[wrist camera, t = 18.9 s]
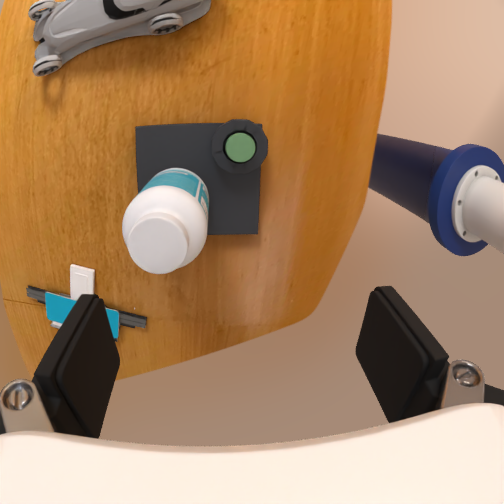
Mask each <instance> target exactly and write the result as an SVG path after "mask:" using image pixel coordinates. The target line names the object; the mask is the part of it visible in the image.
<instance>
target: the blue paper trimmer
mask: <svg viewBox="0 0 504 504" xmlns="http://www.w3.org/2000/svg"><path fill="white" fill-rule="evenodd" d="M94 277H95V270H94V269H90V268H86V267H82V266H78V265H74V264H72V265H71V266H70V293H71V296H69V295H66V294H62V293H60V295H59V294H56V293H52V292H49V291H45V290H42V289H39V288H34V287H31V286H28V288H26V289H27V292H29V293H27V296H28V297H31V298H34V299H37V300H38V302H40V303H43V304H46V312H47V318H48V319H49V320H52V324H51V325H50V326H52V327H56V328H59V329H60V327H61V325H62V324H63V322H64V320H65V319H66V317H67V315H68V314H69V312H70V311H71V309H72V307H73V306H74V304H75V303H76V301H77V300H78V298H79V297H80V295H81V294H94ZM105 308H106V312H107V316H108V319H109V323H110V327H111V330H112V334H113V337H114V340H115V341H116V342H117V341H118V331H119V329H120V325H123V326H127V327H131V328H135V326H137V327H142V328H145V325H146V319H147V317H144V316H139V315H136V314H132V313H128V312H124V311H120V310H115V309H111V308H107V307H106V305H105ZM134 309H135V308H134Z"/></svg>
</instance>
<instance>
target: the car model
mask: <svg viewBox="0 0 504 504" xmlns="http://www.w3.org/2000/svg"><path fill="white" fill-rule="evenodd" d="M210 4H211V0H66V1H65V2H55V0H40V1H38V2H36V3H34V4H33V5H32V6H31V7H30V9H29V13H28V15H29V17H30V18H31V20H34V21H36V23H35V28H34V34H33V38H34V41H40V44H39V46H38V47H37V49H36V51H35V58H36V60H37V61H36V62H35V63H34V65H33V73H34V74H35V76H44V75H47V74H50V73H52V72H55V71H57V70H58V69H59V68H60V67H61V66H62V65H63V64H65V63H66V62H67V61H68V60H70V59H71V58H73V57H75V56H76V55H78V54H80V53H82V52H84V51H86V50H88V49H91V48H93V47H96V46H99V45H101V44H105V43H108V42H111V41H115V40H118V39H122V38H126V37H131V36H140V35H163V34H168V33H172V32H174V31H176V30H178V29H180V28H181V27H183V26H184V25H186V24H188V23H190V22H192V21H194V20H196V19H198V18H200V17H202V16H203V15H205V14H206V13H207V12H208V11H209V8H210ZM43 8H46V9H44V10H41V9H43ZM38 10H41V11H38Z"/></svg>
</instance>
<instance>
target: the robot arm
mask: <svg viewBox="0 0 504 504" xmlns="http://www.w3.org/2000/svg"><path fill="white" fill-rule="evenodd" d="M451 213H452V222H453V226H454V229H455V231H456V233H457V234H458V235H459V236H460V237H461V238H462V239H464V240H466V241H468V242H477V241H480V240H483V241H485V242H486V243H488V244H490V245H491V246H493V247H494V248H496V249H497V250H499V251H500V252H502V253H503V254H504V183H503V182H501V180H500V177H499V175H498V174H497V173H496V171H495V170H493V169H492V168H490V167H488V166H484V165H477V166H475V167H472V168H471V169H470V170H468V171H467V172H466V173H465V174H464V175H463V177H462V178H461V180H460V181H459V183H458V185H457V187H456V190H455V193H454V197H453V201H452V209H451ZM356 356H357V358H358V360H359V362H360V364H361V366H362V368H363V370H364V372H365V375H366V377H367V379H368V381H369V383H370V385H371V387H372V389H373V391H374V393H375V395H376V397H377V399H378V401H379V403H380V405H381V407H382V410H383V412H384V414H385V416H386V418H387V420H388V422H389V423H388V424H384V425H380V426H376V427H371V428H367V429H363V430H358V431H353V432H348V433H343V434H337V435H331V436H326V437H319V438H312V439H305V440H298V441H289V442H280V443H269V444H256V445H239V446H169V445H152V444H140V443H130V442H120V441H111V440H103V439H98V438H99V436H100V432H101V428H102V425H103V421H104V417H105V413H106V410H107V406H108V403H109V399H110V396H111V392H112V389H113V385H114V382H115V379H116V375H117V372H118V369H119V366H120V357H119V353H118V350H117V347H116V344H115V340H114V337H113V334H112V330H111V327H110V323H109V319H108V316H107V312H106V308H105V304H104V301H103V299H100V298H99V297H98V295H97V294H81V295H80V297H79V298H78V300H77V301H76V303H75V304H74V306H73V307H72V309H71V311H70V312H69V314H68V315H67V317H66V319H65V320H64V322H63V324H62V325H61V327H60V329H59V330H58V332H57V334H56V335H55V337H54V339H53V340H52V342H51V344H50V346H49V347H48V349H47V351H46V353H45V354H44V356H43V358H42V360H41V362H40V364H39V365H38V367H37V369H36V371H35V373H34V377H33V379H32V381H30V380H27V379H17V380H13V381H11V382H10V383H8V384H7V385H6V386H5V387H4V388H3V389H2V391H1V392H0V504H504V390H501V389H498V388H495V387H493V386H489V385H487V384H485V378H484V374H483V372H482V370H481V369H480V368H479V367H478V366H477V365H475V364H474V363H472V362H470V361H466V360H456V361H453V362H452V363H451V364H449V362H448V361H447V359H448V358H449V355H448V354H447V353H446V352H445V350H444V349H443V348H442V346H441V345H440V344H439V343H438V341H437V340H436V339H435V337H433V335H432V334H431V332H430V331H429V330H428V329H427V328H426V326H425V325H424V324H423V323H422V322H421V320H420V319H419V318H418V316H417V315H416V314H415V313H414V312H413V311H412V309H411V308H410V307H409V306H408V305H407V303H406V302H405V301H404V300H403V299H402V297H401V296H400V295H399V294H398V293H397V292H396V290H395V289H394V288H393V287H392V286H382V287H376V288H375V289H374V291H372V292H371V293H370V296H369V300H368V304H367V308H366V312H365V316H364V320H363V324H362V328H361V331H360V335H359V339H358V342H357V346H356Z"/></svg>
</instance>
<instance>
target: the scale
mask: <svg viewBox="0 0 504 504" xmlns="http://www.w3.org/2000/svg"><path fill="white" fill-rule="evenodd" d="M135 128H136V163H137V182H138V193H139V192H140V191H141V190H142V189H143V188H144V187H145V186H146V184H147V183H148V182H149V181H150V180H151V179H152V178H153V177H154V176H155V175H157V174H158V173H160V172H161V171H164V170H166V169H170V168H182V169H186V170H189V171H191V172H193V173H195V174H196V175H197V176H198V177H200V179H201V180H202V181H203V182H204V184H205V186H206V188H207V190H208V195H209V211H208V228H207V235H230V234H258V220H259V196H260V171H261V164H262V162H263V161H264V159H265V158H266V156H267V153H268V139H267V137H266V136H265V134H264V132H263V130H262V124H255V123H253V122H251V121H250V120H242V119H233V120H230V121H228V122H226V123H192V124H167V125H151V126H138V127H135ZM236 133H244V134H246V135H248V136H250V137H251V138H252V139H253V141H254V143H255V153H254V155H253V156H252V157H251V158H250V159H249V160H248V161H245V162H236V161H233V160H232V159H230V158H229V156H228V155H227V152H226V148H225V146H226V142H227V140H228V138H229V137H230V136H231V135H233V134H236Z"/></svg>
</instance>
